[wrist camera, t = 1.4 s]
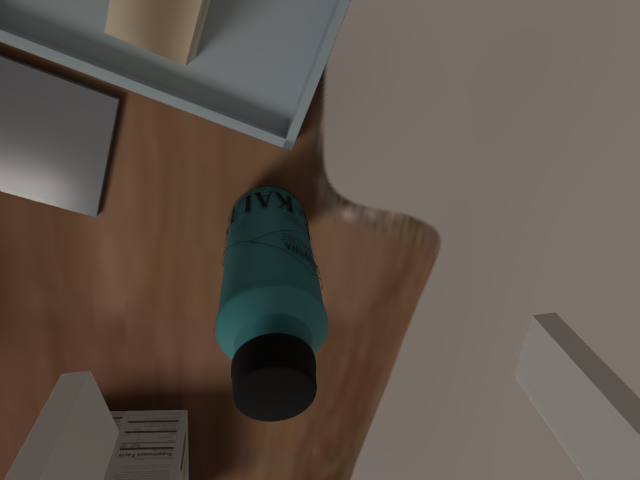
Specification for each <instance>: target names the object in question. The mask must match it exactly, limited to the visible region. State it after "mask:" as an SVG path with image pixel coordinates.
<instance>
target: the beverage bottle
mask: <svg viewBox="0 0 640 480" xmlns="http://www.w3.org/2000/svg"><path fill="white" fill-rule="evenodd" d="M293 196H294V195H293ZM293 196H292V195H291V194H290V193H288V191H286V190H283V189H280V188H276V187H259V188H255V189H252V190H250V191H248V192H247V193H244V195H243V196H242V195H241V197H240V198H239V199H238V201H237V202H236V201H235V202H236V203H235V205H233V206H234V207H231V208H233V209H232V212H231V217H230V219H228V220H229V221H230V224H229V228H228V230H229V231H228V230H227V231H228V232H226V235H228V237H227V239H226V240H227V244H226V247H224V248H225V249H226V250H225V256H224V257H225V258H224V265H223V266H224V271H223V279H222V286H221V294H220V302H219V309H218V314H217V318H216V322H215V335H216V339H217V342H218V344H219V346H220V348H221V349H222V351H223V352H224V353H225V354H226V355H227V356H228V357H229V358H230V359H231V360H232V364H231V378H232V387H233V399H234V403H235V405H236V407H237V408H238V409H239V410H240V412H242V413H243V414H244V415H246V416H248V417H250V418H252V419H255V420H260V421H269V422H271V421H281V420H286V419H289V418H292V417H295V416H297V415H299V414H300V413H302V412H303V411H305V410H306V409H307V408H308V407H309V406H310V405H311V403H312V402H313V400H314V398H315V395H316V390H317V384H316V361H315V355H314V354H315V353H316V352H317V351H318V350H319V349H320V347H321V346H322V344H323V342H324V340H325V338H326V335H327V331H328V318H327V313H326V310H325V308H324V305H323V300H322V295H321V290H320V284H319V280H318V278H319V277H318V275H317V271H319V270H317V271H316V268H317V266H318V265H317V266H316V265H315V264H316V263H315V262H314V258H313V253H312V249H313V248H312V249H311V244H310V238H311V236H310V237H309V235H310V234H309V231H310V230H308V228H307V227H306V226H307V225H308V222H307V219H306V222H307V224H306V222H305V218H306V216H305V218H304V215H305V213H304V214H303V212H305V210H304V211H303V209H302V208H301V206H300V203H299V202H300V201H299V202H298V201H297V200H296V199H295V198H294V197H293ZM229 214H230V213H229ZM229 216H230V215H229ZM227 227H228V226H227ZM308 227H309V226H308ZM227 233H228V234H227ZM311 241H312V240H311ZM224 244H225V243H224ZM223 250H224V249H223ZM313 251H314V250H313ZM223 254H224V253H223ZM314 257H316V256H315V255H314ZM315 259H316V258H315ZM316 261H317V260H316ZM222 264H223V263H222ZM317 269H318V268H317ZM319 275H320V274H319ZM319 279H320V278H319ZM320 280H321V279H320ZM321 289H322V288H321Z"/></svg>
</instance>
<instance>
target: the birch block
mask: <svg viewBox="0 0 640 480" xmlns="http://www.w3.org/2000/svg"><path fill="white" fill-rule="evenodd" d="M210 2H211V0H110V1H109V7H108V13H107V20H106V26H105V32H104V33H106V34H108V35H111V36H113V37H116V38H118V39H121V40H123V41H125V42H128V43H130V44H133V45H135V46H138V47H140V48H143V49H145V50H147V51H150V52H152V53H155V54H157V55H160V56H162V57H164V58H167V59H169V60H172V61H174V62H177V63H179V64H182V65H184V66H186V65H187V64H188V63H190V62H191V61H192V60H194V59H195V58H196V56H197V52H198V48H199V44H200V40H201V37H202V33H203V29H204V25H205V21H206V18H207V14H208V10H209V6H210Z"/></svg>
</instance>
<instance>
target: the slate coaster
mask: <svg viewBox="0 0 640 480" xmlns="http://www.w3.org/2000/svg"><path fill="white" fill-rule="evenodd" d="M120 101H121V98H119V97H116V96H114V95H111V94H108V93H106V92H103V91H100V90H97V89H95V88H92V87H89V86H86V85H84V84H81V83H78V82H76V81H73V80H70V79H67V78H65V77H62V76H59V75H57V74H54V73H51V72H48V71H46V70H43V69H40V68H37V67H35V66H32V65H29V64H27V63H24V62H21V61H18V60H16V59H13V58H10V57H8V56H5V55H2V54H0V191H2V192H5V193H9V194H12V195H16V196H20V197H23V198H27V199H31V200H34V201H38V202H42V203H45V204H49V205H52V206H56V207H60V208H63V209H67V210H71V211H74V212H78V213H82V214H85V215H89V216H92V217H97V216H98V214H99V210H100V204H101V199H102V194H103V189H104V184H105V179H106V174H107V168H108V163H109V158H110V153H111V148H112V143H113V137H114V132H115V127H116V122H117V117H118V112H119V106H120Z"/></svg>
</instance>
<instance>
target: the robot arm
mask: <svg viewBox="0 0 640 480" xmlns="http://www.w3.org/2000/svg"><path fill="white" fill-rule="evenodd" d="M514 378H515V379H516V380H517V382H518V383H519V385H520V386H521V388H522V389H523V390H524V392H525V393H526V395H527V396H528V398H529V399H530V401H531V402H532V403H533V405H534V406H535V408H536V409H537V411H538V412H539V414H540V415H541V416H542V418H543V419H544V421H545V422H546V423H547V425H548V426H549V428H550V429H551V431H552V432H553V433H554V435H555V437H556V438H557V439H558V441H559V442H560V444H561V445H562V447H563V448H564V449H565V451H566V452H567V454H568V455H569V457H570V458H571V460H572V461H573V462H574V464H575V465H576V467H577V468H578V470H579V471H580V472H581V474H582V475H583V477H584V478H585V480H640V398H638V396H637V395H636V394H635V393H634V392H633V391H632V390H631V389H630V388H629V387H628V386H627V385H626V384H625V383H624V382H622V380H621V379H620V378H619V377H618V376H617V375H616V374H615V373H614V372H613V371H612V370H611V369H610V368H609V367H608V366H607V365H606V364H605V363H604V362H603V361H602V360H601V359H600V358H599V357H598V356H597V355H596V353H594V351H593V350H591V348H590V347H589V346H588V345H586V343H585V342H584V341H583V340H582V339H581V338H580V337H579V336H578V335H577V334H576V333H575V332H574V331H573V330H572V329H571V328H570V327H569V326H568V325H567V324H566V323H565V322H564V321H563V320H562V319H561V318H560V317H559V316H558V315H557V314H556V313H548V314H540V315H533V316H532V318H531V322H530V325H529V328H528V331H527V335H526V338H525V341H524V345H523V348H522V351H521V355H520V358H519V361H518V365H517V368H516V371H515V375H514ZM118 434H119V430H118V428H117V426H116V424H115V422H114V419H113V417H112V415H111V413H110V411H109V409H108V407H107V405H106V403H105V400H104V398H103V396H102V394H101V392H100V390H99V388H98V386H97V384H96V382H95V379H94V377H93V375H92V373H91V371H83V372H75V373H67V374H61V376H60V378H59V380H58V381H57V383H56V385H55V387H54V389H53V391H52V393H51V394H50V396H49V398H48V400H47V402H46V404H45V405H44V407H43V409H42V411H41V413H40V415H39V416H38V418H37V420H36V422H35V424H34V426H33V427H32V429H31V431H30V433H29V435H28V437H27V438H26V440H25V442H24V444H23V446H22V448H21V449H20V451H19V453H18V455H17V457H16V459H15V460H14V462H13V464H12V466H11V468H10V470H9V472H8V473H7V475H6V477H5V479H4V480H103V479H104V476H105V473H106V470H107V467H108V464H109V461H110V458H111V455H112V452H113V449H114V446H115V443H116V440H117V437H118Z"/></svg>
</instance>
